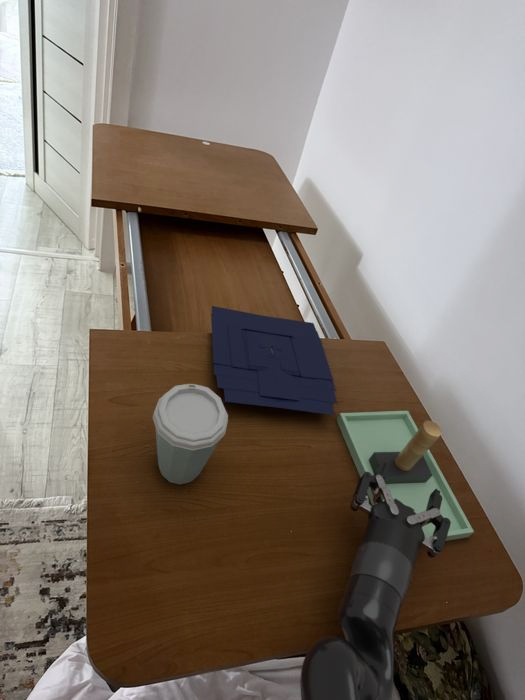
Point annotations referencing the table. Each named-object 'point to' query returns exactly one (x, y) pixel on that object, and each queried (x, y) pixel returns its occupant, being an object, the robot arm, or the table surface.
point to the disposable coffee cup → (187, 430)
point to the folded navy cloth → (271, 362)
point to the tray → (392, 436)
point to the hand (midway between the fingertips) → (410, 478)
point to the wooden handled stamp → (409, 457)
